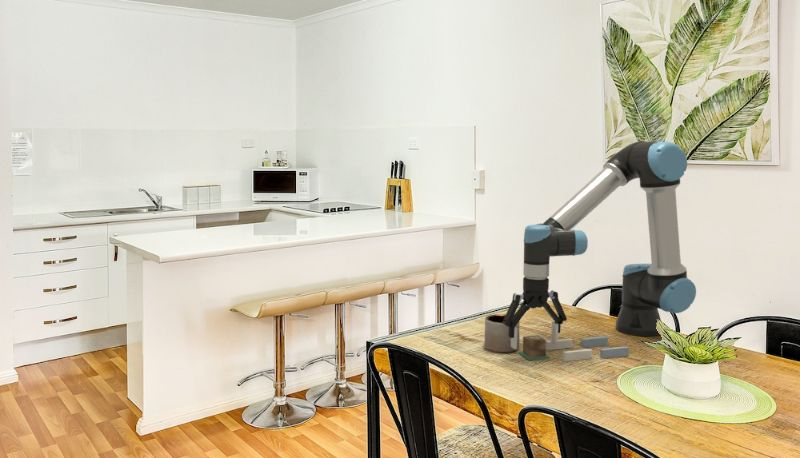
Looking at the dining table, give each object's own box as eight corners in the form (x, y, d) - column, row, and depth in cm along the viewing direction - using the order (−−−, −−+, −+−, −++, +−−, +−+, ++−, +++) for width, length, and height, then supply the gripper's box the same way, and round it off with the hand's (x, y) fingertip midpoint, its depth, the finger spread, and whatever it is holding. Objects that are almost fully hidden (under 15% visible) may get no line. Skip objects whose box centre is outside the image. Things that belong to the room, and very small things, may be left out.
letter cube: (537, 350, 202) (538, 334, 201) (545, 356, 197) (546, 339, 196) (522, 352, 200) (523, 336, 199) (530, 357, 195) (530, 341, 195)
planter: (518, 354, 200) (519, 324, 199) (483, 352, 202) (483, 322, 201) (519, 343, 211) (520, 314, 209) (485, 341, 213) (486, 313, 211)
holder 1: (570, 346, 208) (571, 338, 207) (591, 358, 196) (592, 350, 196) (545, 349, 205) (545, 341, 205) (564, 361, 194) (565, 352, 193)
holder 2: (605, 344, 210) (606, 336, 210) (628, 355, 199) (628, 347, 198) (580, 346, 207) (581, 338, 207) (602, 358, 196) (602, 350, 196)
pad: (538, 351, 203) (538, 349, 203) (550, 358, 196) (550, 356, 196) (518, 353, 201) (518, 351, 201) (528, 360, 194) (528, 358, 194)
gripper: (566, 272, 202) (564, 338, 205) (492, 276, 195) (491, 345, 198) (579, 276, 195) (577, 345, 198) (503, 282, 188) (501, 353, 191)
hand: (534, 345), depth 198 cm, fingers open, 13 cm apart
